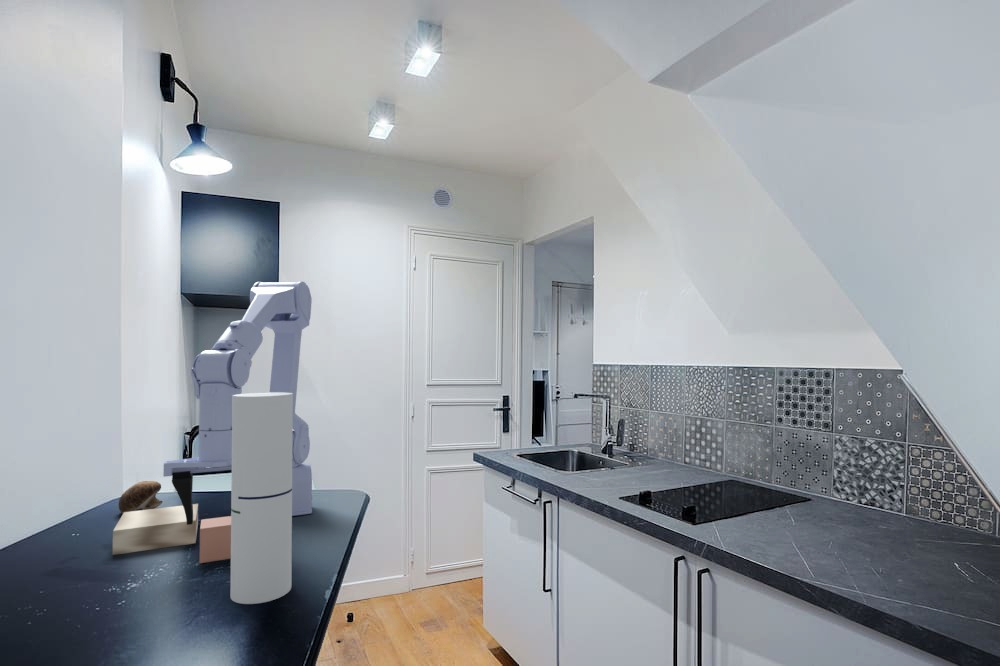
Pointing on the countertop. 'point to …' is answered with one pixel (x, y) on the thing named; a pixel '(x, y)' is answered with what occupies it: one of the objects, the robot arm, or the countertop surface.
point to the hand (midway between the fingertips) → (219, 519)
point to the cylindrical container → (261, 497)
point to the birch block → (154, 529)
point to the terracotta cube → (215, 539)
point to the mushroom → (140, 497)
